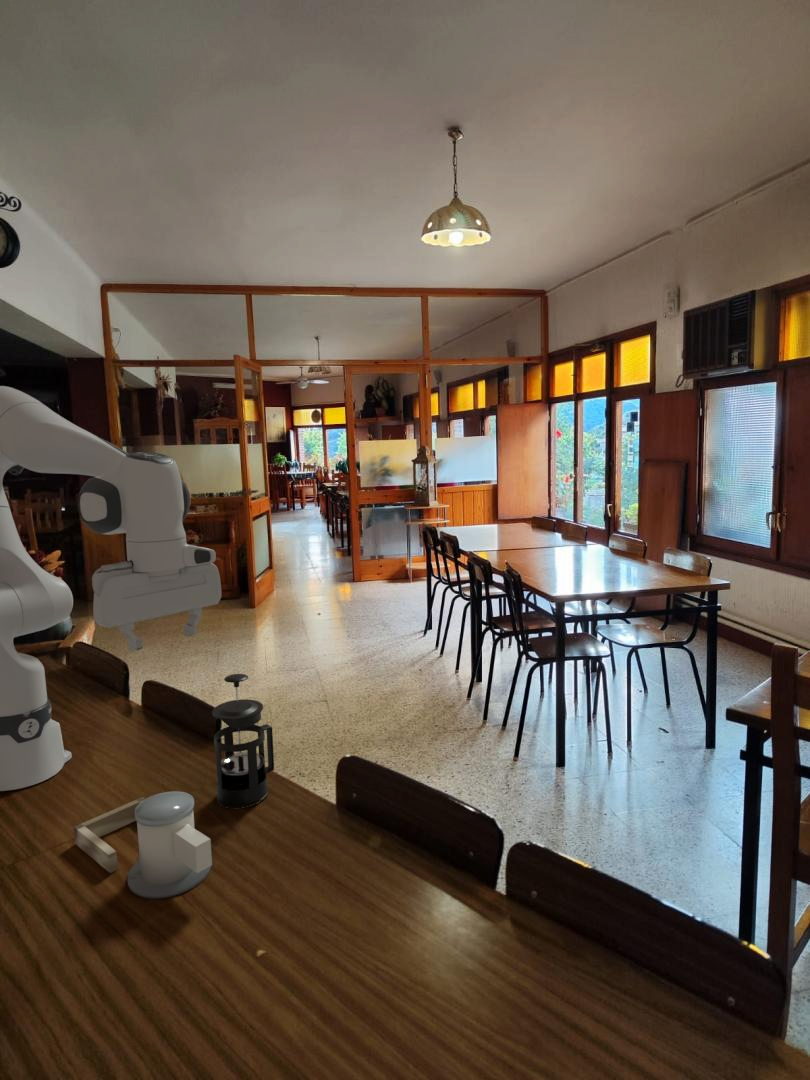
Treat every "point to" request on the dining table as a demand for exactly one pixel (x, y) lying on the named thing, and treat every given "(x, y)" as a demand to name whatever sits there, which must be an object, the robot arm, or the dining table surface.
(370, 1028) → the dining table surface
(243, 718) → the french press
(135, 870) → the mat
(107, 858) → the stand
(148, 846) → the white handled cylinder
